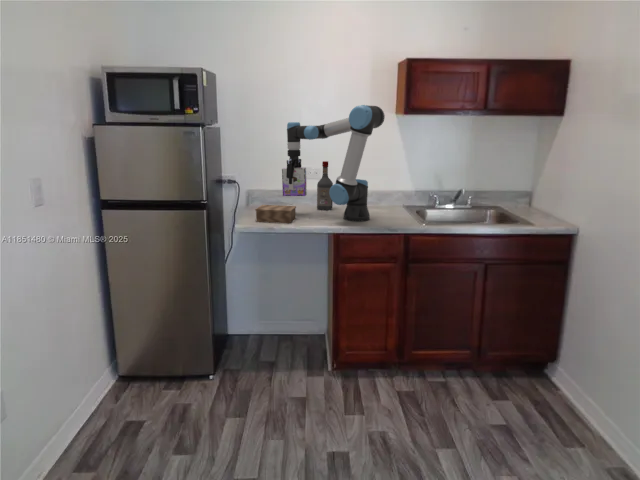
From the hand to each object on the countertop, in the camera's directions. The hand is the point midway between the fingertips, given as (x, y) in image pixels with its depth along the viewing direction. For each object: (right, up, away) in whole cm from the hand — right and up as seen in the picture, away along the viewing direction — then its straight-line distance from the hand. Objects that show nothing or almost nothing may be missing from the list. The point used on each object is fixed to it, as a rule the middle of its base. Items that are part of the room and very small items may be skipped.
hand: (294, 188), depth 286 cm
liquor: (+18, -11, +21) cm, 30 cm away
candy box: (0, -4, +1) cm, 4 cm away
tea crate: (-10, -19, -12) cm, 25 cm away
